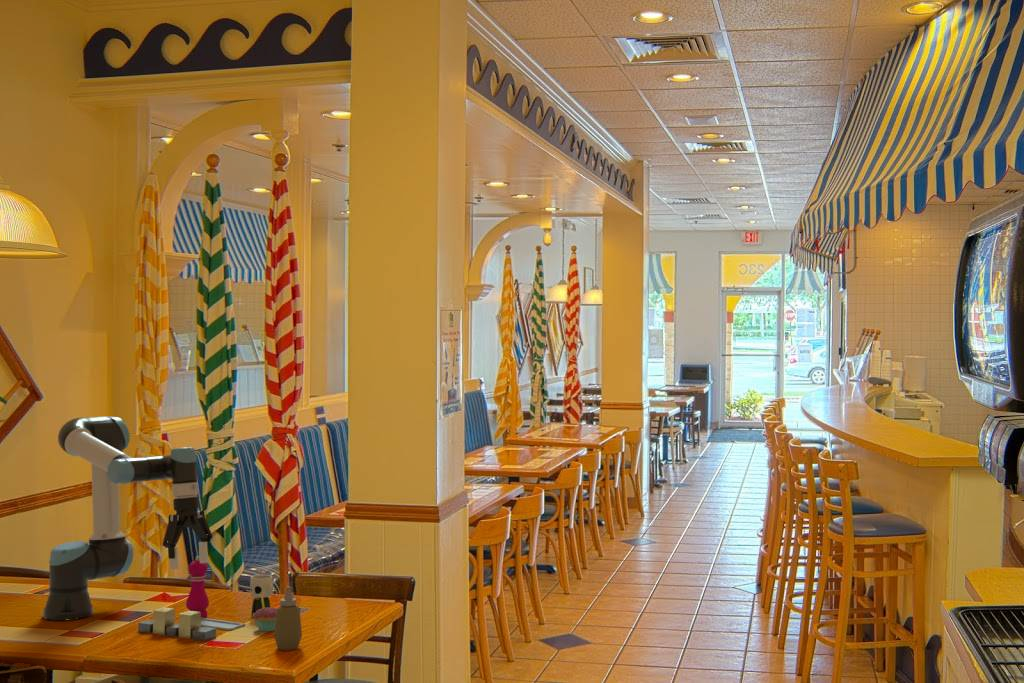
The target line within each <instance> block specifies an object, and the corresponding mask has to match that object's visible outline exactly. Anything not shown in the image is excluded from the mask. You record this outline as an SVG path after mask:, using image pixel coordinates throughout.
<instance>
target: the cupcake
mask: <svg viewBox="0 0 1024 683" xmlns="http://www.w3.org/2000/svg"><path fill="white" fill-rule="evenodd" d="M261 601H262V607H263V608H262V609H259V610H257V611H256V612H255V613H253V616H252V617H253V621H255V623H256V625H257V628H258V630H259V631H260V632H272V631H275V623H276V614H277V608H275V607H271V606H270V607H266V608H265V606H264V599H263V595H262V593H261Z"/></svg>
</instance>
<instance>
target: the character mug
mask: <svg viewBox="0 0 1024 683" xmlns="http://www.w3.org/2000/svg"><path fill="white" fill-rule="evenodd" d="M273 580H274V578H273V575H271V574H255V575H252V576H251V577H250V582H249V589H250V591H249V593H250V596H251V597H252V598H253V600H252V606H251V613H250V614H251V616H252V617H254V616H253V615H254V613H255V612H256V611H257V610H259V609H262V608H263V607H262V601H261V593H262V595H263V599H264V606H265V608H266V607H271V602H270V598H269V597H272V595H273V593H274V583H273Z"/></svg>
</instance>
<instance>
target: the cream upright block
mask: <svg viewBox="0 0 1024 683" xmlns="http://www.w3.org/2000/svg"><path fill="white" fill-rule="evenodd" d="M152 613H153V617H152V620H153V633H155V634H154V635H159V634H162V635H161V636H166V634H167V627H168V626H171V625H174V624H176V608H172V607H166V606H165V607H164V606H163V607H160V608H157V609H156V608H155V609H153V612H152Z"/></svg>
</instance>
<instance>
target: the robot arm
mask: <svg viewBox="0 0 1024 683" xmlns="http://www.w3.org/2000/svg"><path fill="white" fill-rule="evenodd" d="M130 435H131V434H130V431H129V427H128V425H127V423H125V421H124V420H123V419H122V418H121V417H119V416H107V415H105V416H93V417H92V416H90V417H76V418H72V419H70V420H68V421H66V422H65V423H64V424H62V426H61V428H60V429H59V432H58V434H57V442H58V445H59V446H60V448H61V450H62V451H63V452H65V453H66V454H68V455H70V456H72V457H80V458H82V459H83V460H85V461H87V462H89V463H90V464H91V490H92V493H91V494H92V498H91V499H92V524H93V525H92V526H93V527H92V528H93V532H92V534H91V535H90V537H89V538H88V542H87V541H84V540H79V541H78V540H77V541H70V542H69V541H68V542H65V543H61V544H58V545H56V546H54V547H53V548H52V549H51V550H50V554H49V561H48V564H49V583H48V584H49V589H48V590H49V591H48V593H49V594H48V596H47V600H46V603H45V607H44V608H43V611H42V617H44V618H46V619H45V620H47V619H53V620H52V621H55V620H64V621H67V620H66V619H75V620H77V619H76V618H81V617H85V618H87V617H86V616H88V617H90V616H89V615H91V614H92V613H93V614H94V605H93V604H92V600H91V597H90V594H89V590H88V589H89V585H88V584H89V581H93V580H98V579H99V580H100V579H104V578H113V577H116V576H120V575H124V574H126V573H127V572H128V571H129V569H130V568H131V566H132V564H133V561H134V548H133V545H132V542H130V541H129V540H128V539H126V534H125V533H124V532H122V530H121V508H120V507H121V506H120V504H121V503H120V502H121V500H120V484H122V485H123V484H124V485H125V484H129V483H130V484H131V483H141V482H150V481H164V480H171V481H172V482H171V483H172V484H171V485H172V497H173V501H172V502H173V503H172V504H173V510H174V511H175V513H174V514H169V515H168V523H167V526H166V530H165V534H164V537H163V540H162V547H164V548H165V549H167V550H168V551H167V552H168V559H169V569H170V570H179V569H180V566H179V564H180V563H179V549H178V548H179V547H177V544H178V542H179V540H180V537H181V536H182V534H183V532H184V530H185V529H187V528H191V529H192V531H193V532H194V534H195V535H196V536H197V538H198V539H199V540H200V541H198V553H199V555H198V556H199V557H200V563H206V564H208V563H209V554H208V553H209V542H211V540H212V538H213V534H212V532H211V529H210V527H209V525H208V524H209V523H208V522H207V519H206V517H205V516H206V515H205V511H204V510H197V509H199V507H200V506H199V505H200V503H199V497H198V496H197V495H198V494H199V487H198V467H197V466H198V465H197V460H198V458H197V454H196V453H197V452H196V448H195V447H193V446H188V447H187V446H186V447H175V448H172V449H171V450H170V455H164V454H163V455H156V456H143V457H132V456H130V455H128V454H126V453H124V450H126V449H127V448H128V446H129V443H130V442H131V441H130V440H131V439H130ZM93 614H92V615H93ZM92 615H91V616H92ZM44 618H43V619H44ZM81 619H82V618H81Z"/></svg>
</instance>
